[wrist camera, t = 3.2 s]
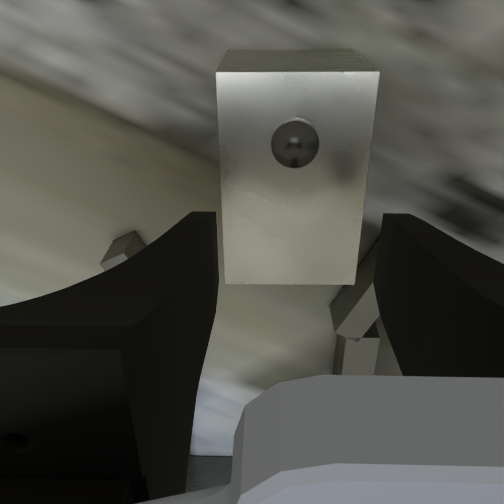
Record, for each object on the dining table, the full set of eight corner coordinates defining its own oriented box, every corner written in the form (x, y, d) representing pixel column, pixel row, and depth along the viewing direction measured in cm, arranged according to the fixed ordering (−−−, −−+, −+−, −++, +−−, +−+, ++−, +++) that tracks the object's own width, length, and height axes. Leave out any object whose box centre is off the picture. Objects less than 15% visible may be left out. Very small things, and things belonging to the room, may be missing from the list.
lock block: (351, 48, 17) (381, 72, 13) (335, 221, 21) (355, 288, 16) (228, 49, 17) (215, 73, 13) (233, 221, 21) (224, 287, 16)
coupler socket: (407, 233, 21) (431, 276, 18) (362, 474, 29) (374, 532, 26) (111, 230, 21) (85, 272, 18) (151, 471, 29) (138, 527, 26)
